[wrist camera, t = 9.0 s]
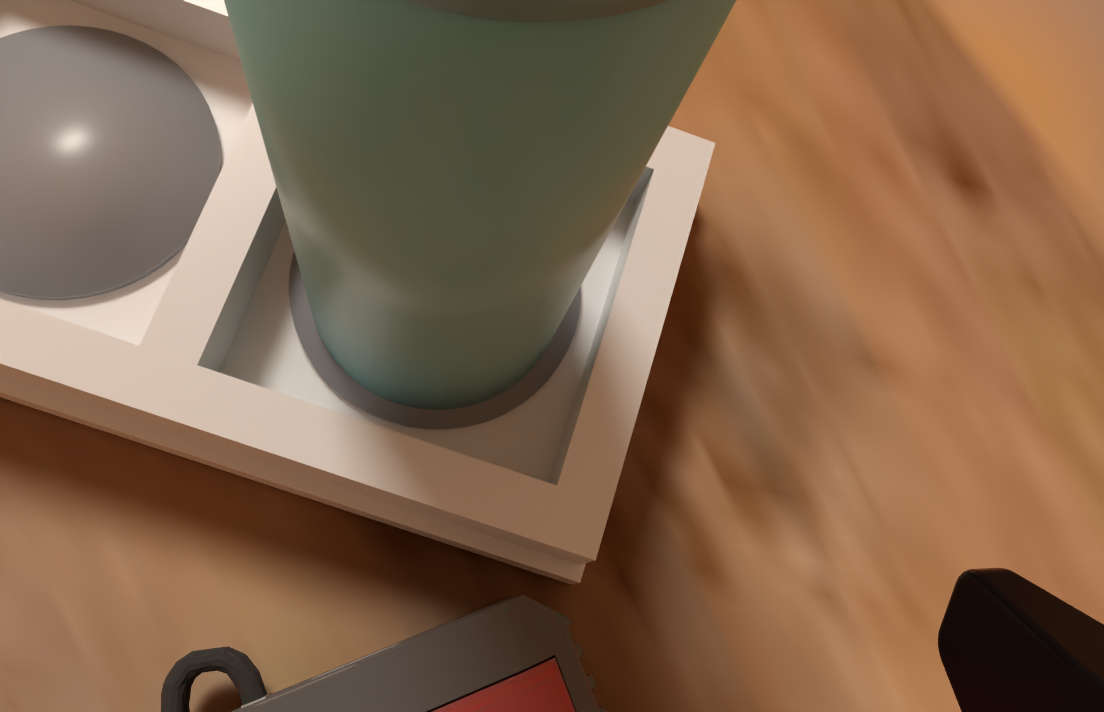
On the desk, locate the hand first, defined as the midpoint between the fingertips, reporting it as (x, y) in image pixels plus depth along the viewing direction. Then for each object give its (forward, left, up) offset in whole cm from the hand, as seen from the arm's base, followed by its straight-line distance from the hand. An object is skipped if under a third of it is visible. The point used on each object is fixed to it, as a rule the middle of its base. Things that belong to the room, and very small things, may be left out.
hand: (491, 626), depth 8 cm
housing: (+6, +6, -10) cm, 13 cm away
